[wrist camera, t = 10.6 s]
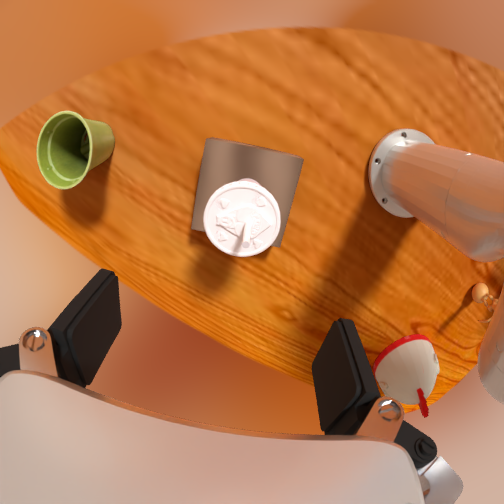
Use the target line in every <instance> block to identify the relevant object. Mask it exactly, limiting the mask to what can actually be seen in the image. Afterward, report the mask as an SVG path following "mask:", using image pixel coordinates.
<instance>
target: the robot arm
mask: <svg viewBox="0 0 504 504" xmlns="http://www.w3.org/2000/svg"><path fill="white" fill-rule="evenodd" d="M401 134H402V136H401ZM375 159H377V161H376V162H375ZM368 176H369V183H370V188H371V190H372V193H373V195H374V197H375V199H376V200H377V202H378V203H379V204H380V205H381V206H382V207H383V208H384V209H385V210H386V211H388V212H389V213H391V214H393V215H395V216H398V217H404V218H409V217H416V218H417V219H418V220H420V221H421V222H423V223H424V224H425V225H427V226H428V227H429V228H431V229H432V230H433V231H435V232H436V233H437V234H439V235H440V236H441V237H443V238H444V239H445V240H447V241H448V242H449V243H450V244H452V245H453V246H454V247H455V248H457V249H458V250H459V251H461V252H462V253H463V254H464V255H466V256H467V257H469V258H471V259H473V260H475V261H479V262H492V261H496V260H499V259H502V258H504V162H500V161H497V160H494V159H490V158H487V157H483V156H480V155H476V154H473V153H469V152H465V151H461V150H457V149H453V148H448V147H444V146H439V145H435V143H434V142H433V141H432V140H431V139H430V138H429V137H428V136H427V135H425V134H423V133H422V132H419V131H417V130H413V129H398V130H394V131H392V132H390V133H388V134H387V135H385V136H384V137H383V138H382V139H381V140H380V141H379V142H378V143H377V145H376V147H375V148H374V150H373V152H372V155H371V158H370V162H369V168H368ZM383 198H384V199H383ZM382 199H383V201H382ZM121 323H122V322H121V312H120V300H119V286H118V277H117V276H115V273H114V272H113V271H110V270H106V269H100V270H99V272H98V273H97V274H96V275H95V276H94V277H93V278H92V279H91V280H90V281H89V282H88V283H87V285H86V286H85V287H84V288H83V289H82V290H81V291H80V293H79V294H78V295H76V296H75V298H74V299H73V300H72V301H71V302H70V303H69V305H68V306H67V307H66V308H65V309H64V310H63V312H62V313H61V314H60V315H59V316H58V318H57V319H56V320H55V321H54V323H53V324H52V325H51V326H50V327H49V329H48V330H45V329H44V328H40V327H32V328H29V329H27V330H26V331H25V332H23V333H22V335H21V337H20V339H19V344H15V345H11V346H7V347H2V348H0V504H454V503H455V501H456V500H457V499H458V497H459V496H460V494H461V492H462V490H463V482H462V480H461V478H460V477H459V476H458V475H457V474H456V473H455V472H454V470H453V469H452V468H451V467H450V466H449V465H448V464H447V463H446V461H445V460H444V459H443V458H442V457H441V456H439V457H437V456H436V455H437V447H436V444H435V443H434V441H433V440H432V439H431V438H430V437H428V436H427V435H425V434H424V433H422V432H420V431H419V430H418V429H416V428H415V427H413V426H412V425H410V424H409V423H407V422H406V421H404V420H403V419H404V409H403V407H402V405H401V404H400V403H399V402H398V401H397V400H395V399H393V398H391V397H387V396H385V397H381V396H380V393H379V390H378V387H377V384H376V381H375V378H374V375H373V373H372V370H371V367H370V364H369V361H368V359H367V356H366V353H365V351H364V348H363V345H362V343H361V340H360V338H359V335H358V332H357V330H356V327H355V325H354V322H353V321H352V320H350V319H342V318H339V319H338V321H334V322H333V324H332V326H331V328H330V330H329V332H328V334H327V336H326V338H325V340H324V342H323V344H322V346H321V348H320V350H319V351H318V353H317V355H316V357H315V359H314V361H313V363H312V374H313V380H314V386H315V392H316V399H317V405H318V412H319V418H320V426H321V430H322V431H324V432H325V435H305V434H284V433H270V432H260V431H251V430H243V429H235V428H228V427H222V426H216V425H211V424H205V423H200V422H195V421H190V420H186V419H181V418H177V417H173V416H169V415H165V414H161V413H158V412H154V411H150V410H147V409H143V408H140V407H136V406H134V405H130V404H127V403H124V402H121V401H119V400H116V399H113V398H110V397H107V396H105V395H102V394H99V393H96V392H94V391H91V390H88V389H86V388H85V387H86V385H90V384H91V382H92V381H93V379H94V377H95V375H96V373H97V371H98V369H99V367H100V365H101V364H102V362H103V360H104V358H105V356H106V354H107V353H108V351H109V349H110V347H111V345H112V344H113V342H114V340H115V338H116V337H117V335H118V333H119V331H120V329H121V325H122V324H121ZM478 372H479V376H480V380H481V382H482V384H483V386H484V387H485V389H486V390H487V392H488V393H489V394H490V395H491V396H492V397H493V398H494V399H496V400H497V401H499V402H500V403H502V404H504V282H503V288H502V291H501V294H500V297H499V300H498V303H497V305H496V308H495V311H494V313H493V316H492V319H491V321H490V324H489V326H488V328H487V331H486V333H485V336H484V338H483V341H482V344H481V347H480V351H479V355H478Z"/></svg>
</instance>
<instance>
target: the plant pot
mask: <svg viewBox="0 0 504 504" xmlns="http://www.w3.org/2000/svg"><path fill="white" fill-rule="evenodd" d="M86 133H87V134H88V135H87V137H86V140H85V142H84V137H85V135H86ZM114 144H115V138H114V136H113V132H112V129H111V128H110V126H109V125H107V124H106V123H104V122H99V121H94V120H89V119H84V118H83V117H82V116H81V115H79V114H78V113H75V112H72V111H62V112H59V113H57V114H55V115H53V116H52V117H51V118H50V119H49V120H48V121H47V122H46V123H45V125H44V126H43V128H42V130H41V133H40V135H39V138H38V143H37V161H38V165H39V169H40V171H41V173H42V175H43V176H44V178H45V180H46V181H47V182H48V183H49V184H50V185H52V186H54V187H55V188H58V189H70V188H72V187H74V186H76V185H77V184H79V183H80V182H81V181H82V180H83V179H84V177H85V176H86V174H87V173H88V172H89V171H90V170H91V169H93V168H94V167H96V166H98V165H99V164H101V163H102V162H104V161H105V160H107V159H108V158H109V157H110V155H111V154H112V151H113V149H114Z"/></svg>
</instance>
